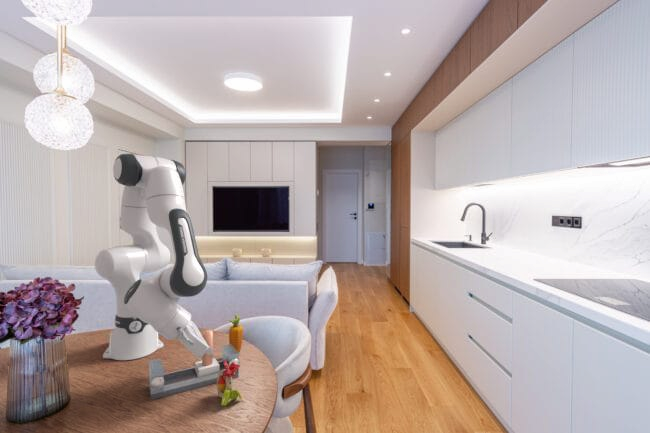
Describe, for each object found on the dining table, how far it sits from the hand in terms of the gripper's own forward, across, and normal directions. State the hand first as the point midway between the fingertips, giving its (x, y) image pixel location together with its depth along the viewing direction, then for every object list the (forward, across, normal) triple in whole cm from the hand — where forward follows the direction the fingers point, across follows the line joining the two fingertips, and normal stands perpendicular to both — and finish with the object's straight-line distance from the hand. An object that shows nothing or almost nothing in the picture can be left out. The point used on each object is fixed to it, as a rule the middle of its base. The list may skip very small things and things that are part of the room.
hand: (209, 349), depth 98 cm
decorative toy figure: (+7, -14, +6) cm, 17 cm away
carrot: (+14, +9, -1) cm, 17 cm away
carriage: (+5, 0, +5) cm, 7 cm away
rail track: (+3, 0, +9) cm, 10 cm away
